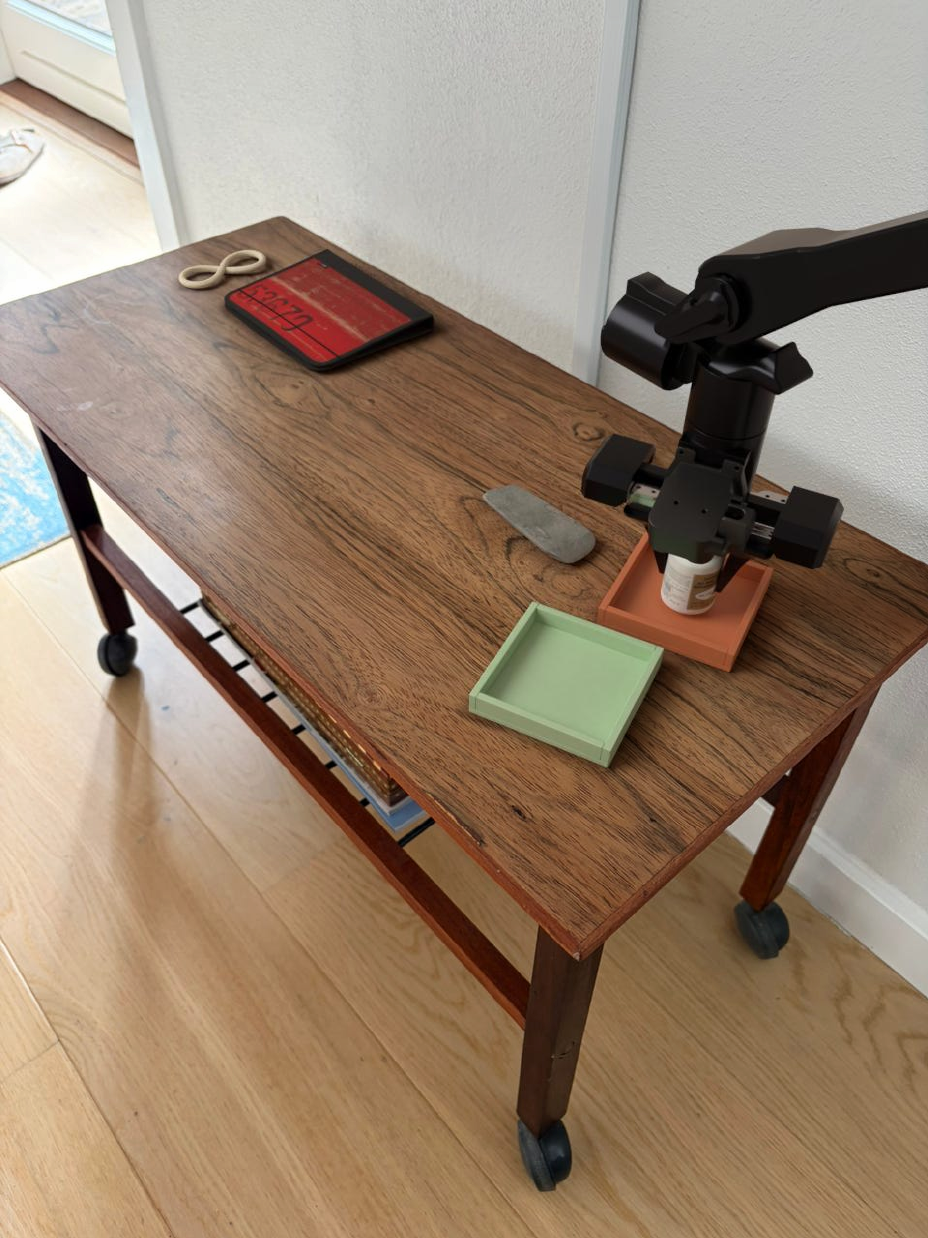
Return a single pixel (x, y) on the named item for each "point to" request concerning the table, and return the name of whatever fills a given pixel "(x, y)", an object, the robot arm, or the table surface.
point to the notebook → (327, 312)
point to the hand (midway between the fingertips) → (691, 580)
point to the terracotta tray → (694, 636)
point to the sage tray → (567, 682)
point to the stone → (542, 523)
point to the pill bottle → (690, 584)
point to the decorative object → (222, 269)
